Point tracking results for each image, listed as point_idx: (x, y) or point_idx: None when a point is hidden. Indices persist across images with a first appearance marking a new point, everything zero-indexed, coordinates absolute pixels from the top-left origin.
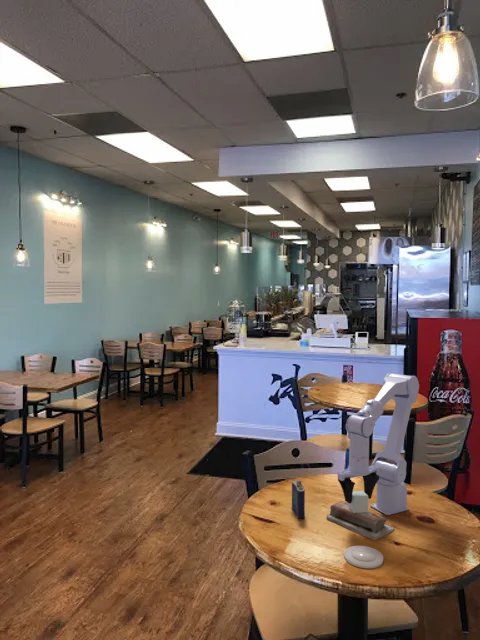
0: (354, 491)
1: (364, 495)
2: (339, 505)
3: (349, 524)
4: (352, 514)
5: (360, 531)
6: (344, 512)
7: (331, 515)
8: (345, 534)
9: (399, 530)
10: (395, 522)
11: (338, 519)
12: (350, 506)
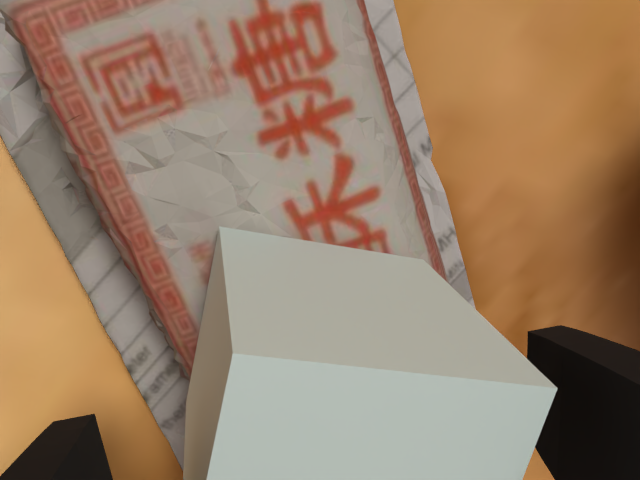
0: (349, 395)
1: None
2: (123, 83)
3: (144, 321)
4: (183, 364)
5: (180, 460)
6: (121, 254)
7: (18, 55)
8: (29, 420)
9: (537, 452)
10: (618, 329)
11: (73, 176)
12: (208, 305)
